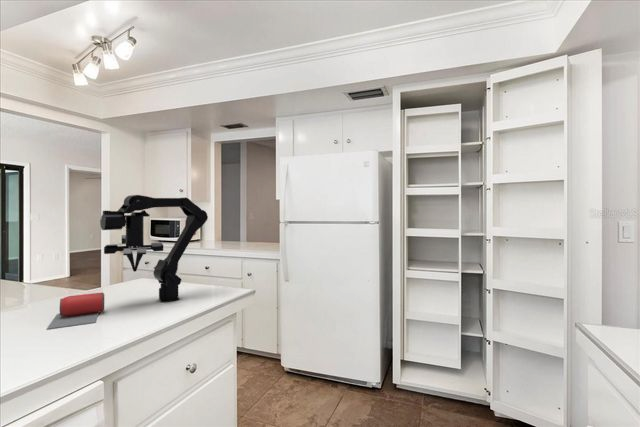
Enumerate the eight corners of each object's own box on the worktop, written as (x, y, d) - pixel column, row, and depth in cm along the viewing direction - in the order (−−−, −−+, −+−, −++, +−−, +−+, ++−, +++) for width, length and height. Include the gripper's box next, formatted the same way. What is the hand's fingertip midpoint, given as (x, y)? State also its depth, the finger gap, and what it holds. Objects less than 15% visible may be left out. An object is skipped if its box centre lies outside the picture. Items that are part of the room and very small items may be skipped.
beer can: (104, 290, 112) (59, 295, 106) (104, 309, 110) (58, 315, 104) (104, 294, 118) (62, 298, 111) (104, 312, 115) (61, 318, 109)
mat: (99, 309, 117) (99, 308, 117) (95, 322, 103) (95, 321, 103) (57, 314, 111) (57, 313, 111) (46, 329, 97) (46, 328, 97)
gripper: (161, 227, 132) (161, 266, 132) (105, 228, 123) (106, 270, 123) (163, 228, 122) (163, 270, 122) (103, 230, 113) (104, 275, 113)
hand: (134, 271), depth 120 cm, fingers closed
